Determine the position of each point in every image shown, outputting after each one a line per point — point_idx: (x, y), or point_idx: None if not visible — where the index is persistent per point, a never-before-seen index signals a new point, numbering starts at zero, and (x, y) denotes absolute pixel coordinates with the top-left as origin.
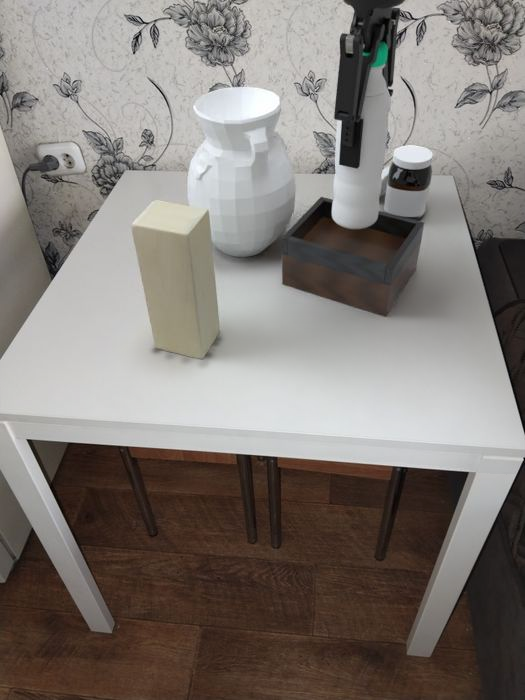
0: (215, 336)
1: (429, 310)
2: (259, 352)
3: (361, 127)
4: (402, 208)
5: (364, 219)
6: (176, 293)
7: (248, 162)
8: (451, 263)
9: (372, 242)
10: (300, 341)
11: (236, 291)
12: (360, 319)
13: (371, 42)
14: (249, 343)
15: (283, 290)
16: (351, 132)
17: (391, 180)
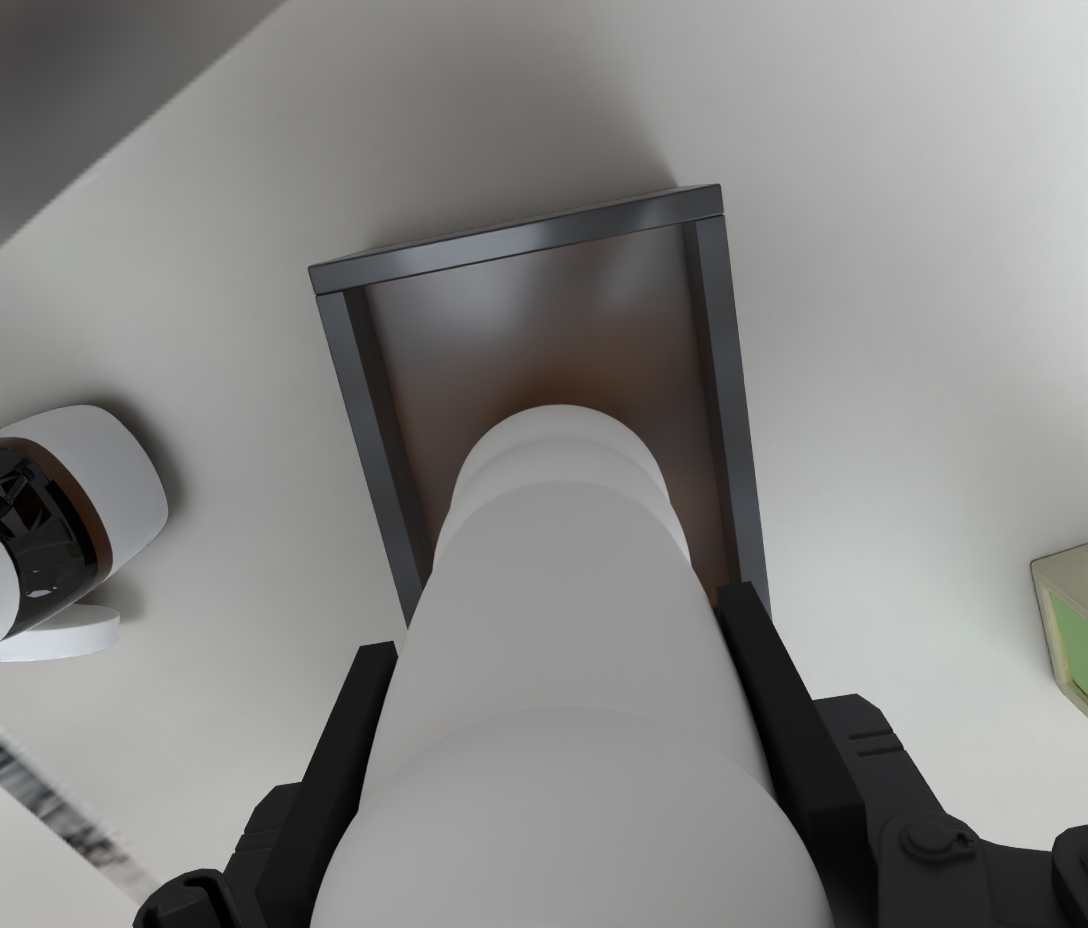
0: (1069, 554)
1: (550, 74)
2: (1052, 413)
3: (821, 761)
4: (135, 470)
5: (624, 432)
6: None
7: None
8: (242, 157)
9: (488, 405)
10: (943, 345)
11: (840, 643)
12: (739, 251)
13: None
14: (1031, 462)
15: None
16: (916, 778)
17: (90, 577)
